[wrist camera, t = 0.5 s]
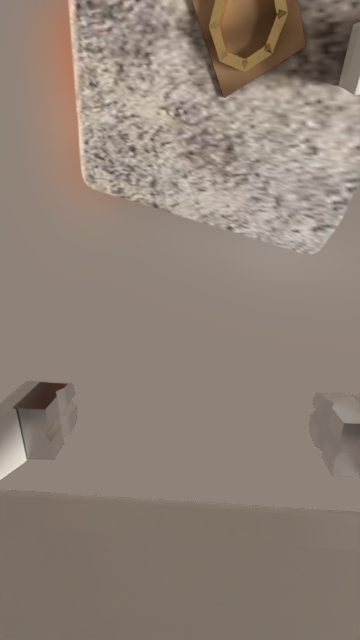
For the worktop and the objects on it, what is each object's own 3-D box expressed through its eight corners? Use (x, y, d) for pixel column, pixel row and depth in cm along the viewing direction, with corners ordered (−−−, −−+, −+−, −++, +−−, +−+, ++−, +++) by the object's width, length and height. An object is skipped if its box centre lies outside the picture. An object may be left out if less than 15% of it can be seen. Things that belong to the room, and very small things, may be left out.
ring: (204, 1, 36) (200, -1, 35) (274, -59, 32) (273, -65, 30) (229, 82, 41) (226, 83, 39) (292, 40, 37) (293, 40, 35)
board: (192, -3, 37) (190, -5, 36) (283, -84, 31) (283, -88, 30) (225, 97, 43) (224, 98, 43) (305, 46, 37) (305, 46, 37)
